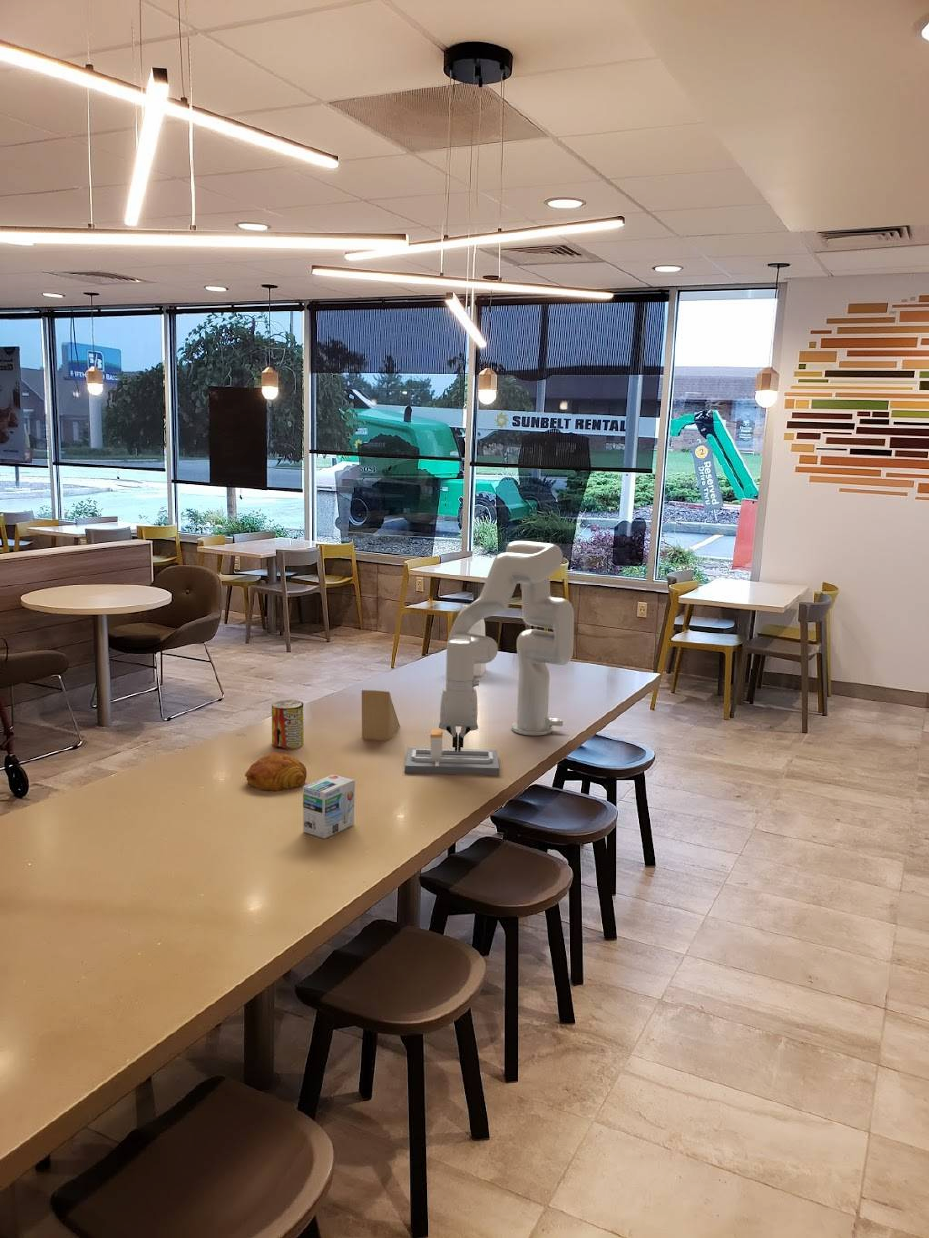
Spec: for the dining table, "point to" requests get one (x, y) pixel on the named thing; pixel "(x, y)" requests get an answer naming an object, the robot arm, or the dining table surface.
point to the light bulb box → (328, 806)
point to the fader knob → (436, 743)
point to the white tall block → (478, 630)
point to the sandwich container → (378, 715)
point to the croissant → (276, 772)
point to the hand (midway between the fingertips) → (457, 749)
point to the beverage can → (287, 724)
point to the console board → (452, 762)
